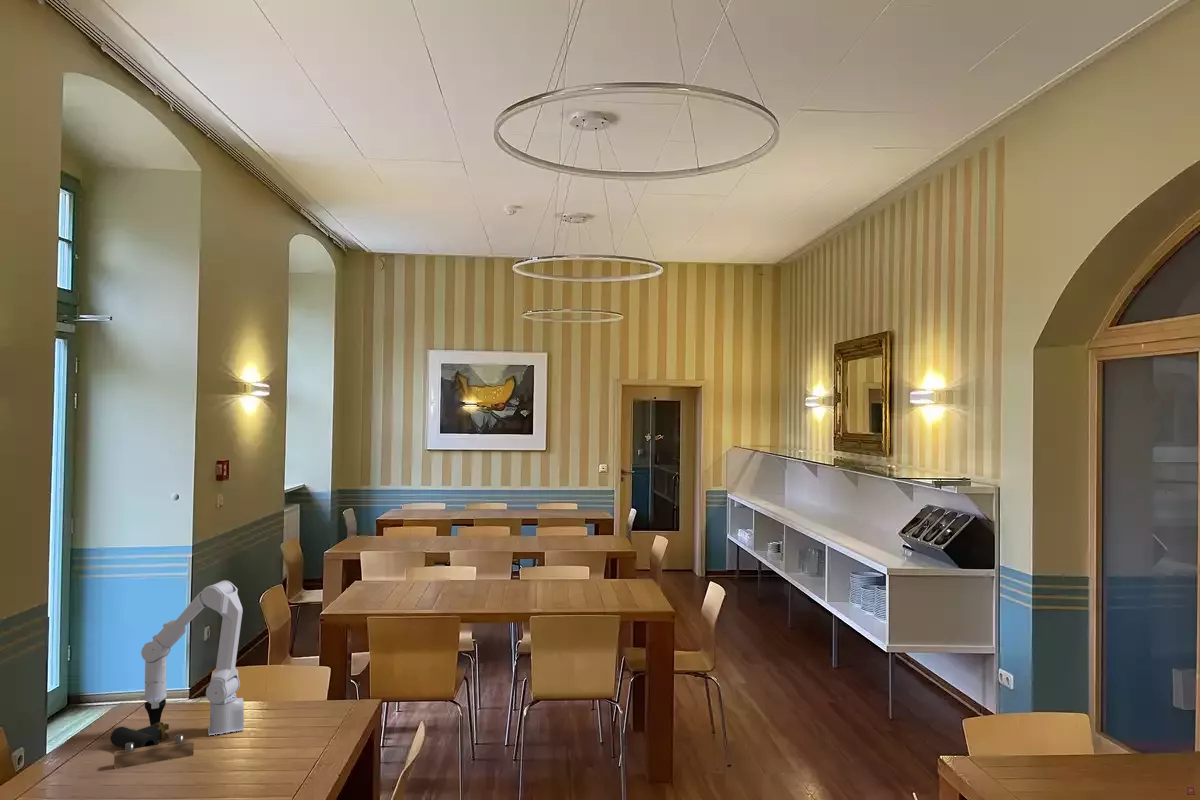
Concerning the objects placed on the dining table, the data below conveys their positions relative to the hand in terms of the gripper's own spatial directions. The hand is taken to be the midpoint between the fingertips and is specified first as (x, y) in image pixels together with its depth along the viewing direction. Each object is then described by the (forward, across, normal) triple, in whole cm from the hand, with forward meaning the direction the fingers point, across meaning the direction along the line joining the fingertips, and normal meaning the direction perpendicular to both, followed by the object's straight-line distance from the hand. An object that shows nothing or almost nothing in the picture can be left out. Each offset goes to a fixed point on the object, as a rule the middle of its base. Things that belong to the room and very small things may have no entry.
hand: (154, 726), depth 246 cm
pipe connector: (+2, +11, -2) cm, 12 cm away
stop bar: (+1, +25, 0) cm, 25 cm away
